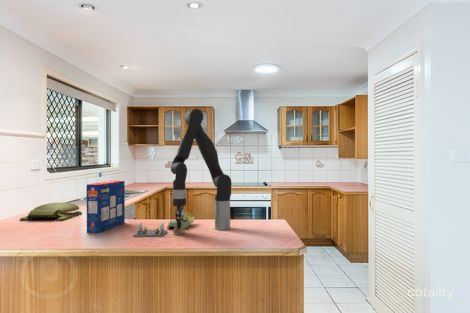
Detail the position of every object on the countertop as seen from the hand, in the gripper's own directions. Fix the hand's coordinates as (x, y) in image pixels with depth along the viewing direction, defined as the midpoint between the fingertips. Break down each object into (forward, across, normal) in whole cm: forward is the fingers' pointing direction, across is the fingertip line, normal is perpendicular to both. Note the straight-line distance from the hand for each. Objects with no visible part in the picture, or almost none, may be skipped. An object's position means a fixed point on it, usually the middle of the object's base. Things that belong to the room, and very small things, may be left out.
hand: (180, 226), depth 185 cm
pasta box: (+3, +16, +48) cm, 51 cm away
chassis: (+4, -1, +17) cm, 17 cm away
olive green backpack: (+3, +53, +101) cm, 114 cm away
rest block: (+4, 0, +1) cm, 4 cm away
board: (-1, 0, 0) cm, 1 cm away
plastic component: (+5, +18, +2) cm, 19 cm away
